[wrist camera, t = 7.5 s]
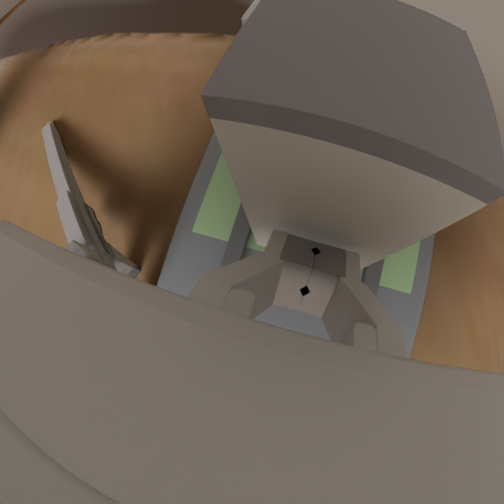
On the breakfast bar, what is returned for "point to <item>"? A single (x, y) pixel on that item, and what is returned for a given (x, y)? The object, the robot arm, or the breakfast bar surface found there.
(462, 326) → the breakfast bar surface
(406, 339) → the grey holder
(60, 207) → the caliper
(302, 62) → the cream rectangular box
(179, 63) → the breakfast bar surface
